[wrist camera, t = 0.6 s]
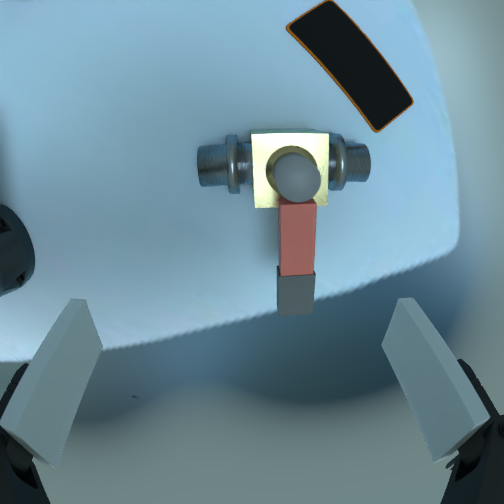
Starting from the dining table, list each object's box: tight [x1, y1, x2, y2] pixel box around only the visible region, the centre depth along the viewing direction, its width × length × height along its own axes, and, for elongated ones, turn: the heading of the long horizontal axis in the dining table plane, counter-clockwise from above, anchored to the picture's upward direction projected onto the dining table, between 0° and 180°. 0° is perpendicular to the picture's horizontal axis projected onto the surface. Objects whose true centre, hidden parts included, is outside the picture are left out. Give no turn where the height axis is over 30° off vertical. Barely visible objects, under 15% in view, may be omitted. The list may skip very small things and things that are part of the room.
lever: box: [272, 152, 321, 316], centre depth 27 cm, size 4×15×4 cm, turn 3°
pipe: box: [197, 129, 371, 208], centre depth 29 cm, size 18×7×8 cm, turn 93°
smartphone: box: [286, 0, 414, 133], centre depth 27 cm, size 8×17×1 cm, turn 43°
